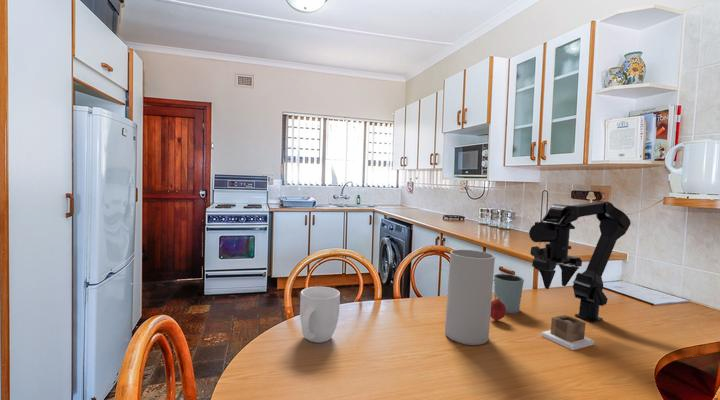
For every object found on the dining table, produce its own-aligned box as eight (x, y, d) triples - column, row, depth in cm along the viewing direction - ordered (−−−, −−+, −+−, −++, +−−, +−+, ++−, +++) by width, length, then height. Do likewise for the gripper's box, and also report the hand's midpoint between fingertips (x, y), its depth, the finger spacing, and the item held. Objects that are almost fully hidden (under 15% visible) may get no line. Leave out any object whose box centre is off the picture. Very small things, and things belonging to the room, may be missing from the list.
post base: (561, 331, 117) (563, 313, 117) (593, 344, 108) (595, 325, 108) (541, 335, 113) (542, 317, 112) (572, 350, 104) (574, 330, 103)
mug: (323, 356, 93) (325, 305, 92) (284, 348, 96) (286, 299, 95) (343, 333, 107) (345, 289, 106) (309, 327, 110) (311, 284, 109)
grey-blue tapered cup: (523, 308, 137) (525, 277, 136) (518, 316, 128) (521, 282, 128) (495, 302, 142) (497, 272, 142) (488, 309, 134) (491, 277, 133)
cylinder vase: (458, 324, 118) (463, 248, 116) (495, 338, 109) (502, 255, 108) (436, 335, 109) (442, 252, 108) (475, 350, 100) (481, 260, 99)
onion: (506, 325, 120) (508, 301, 119) (488, 322, 121) (490, 299, 120) (503, 318, 125) (505, 295, 125) (485, 316, 127) (487, 293, 126)
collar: (563, 330, 115) (565, 314, 114) (584, 338, 109) (585, 322, 109) (550, 333, 112) (551, 317, 112) (570, 342, 106) (572, 325, 106)
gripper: (554, 236, 135) (550, 278, 136) (520, 238, 126) (516, 283, 127) (584, 242, 125) (580, 287, 126) (550, 244, 116) (546, 293, 117)
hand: (555, 287), depth 125 cm, fingers open, 9 cm apart
